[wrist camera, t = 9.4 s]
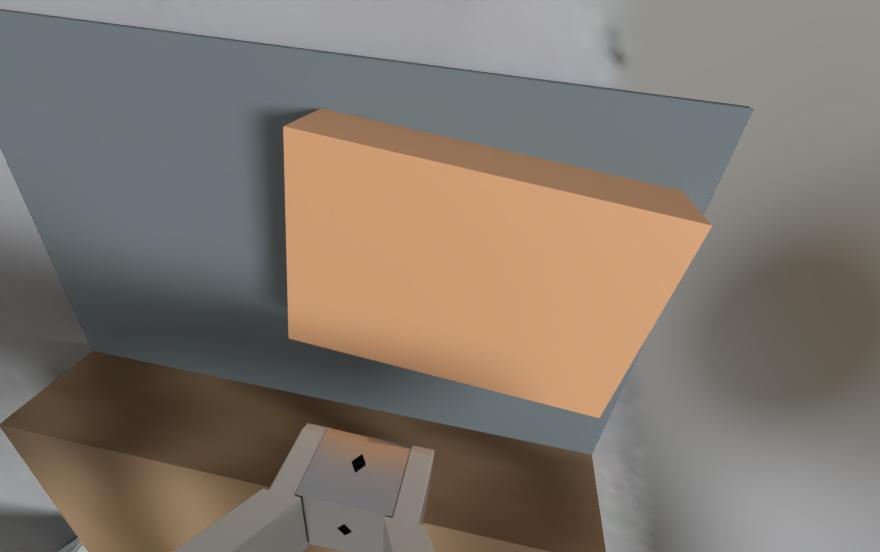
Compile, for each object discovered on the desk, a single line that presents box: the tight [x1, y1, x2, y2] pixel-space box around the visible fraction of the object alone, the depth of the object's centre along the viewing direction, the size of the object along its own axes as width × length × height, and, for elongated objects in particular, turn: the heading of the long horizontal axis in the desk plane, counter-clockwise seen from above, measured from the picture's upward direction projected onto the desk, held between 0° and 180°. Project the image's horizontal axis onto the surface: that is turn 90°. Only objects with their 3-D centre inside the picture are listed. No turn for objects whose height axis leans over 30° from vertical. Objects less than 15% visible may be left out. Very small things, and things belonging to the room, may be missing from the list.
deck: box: [0, 351, 606, 552], centre depth 18 cm, size 20×12×4 cm, turn 85°
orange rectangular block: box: [283, 108, 712, 418], centre depth 11 cm, size 9×6×2 cm, turn 80°
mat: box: [0, 9, 753, 455], centre depth 13 cm, size 20×12×1 cm, turn 85°
